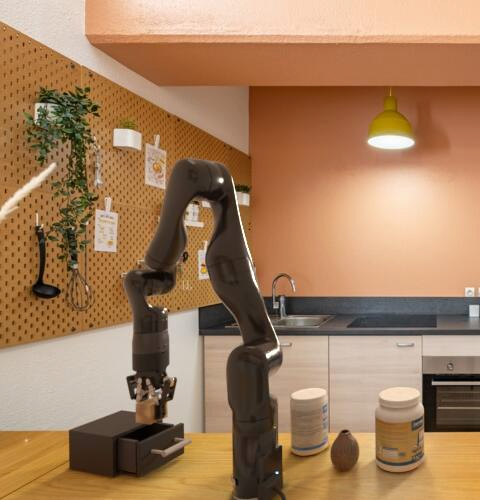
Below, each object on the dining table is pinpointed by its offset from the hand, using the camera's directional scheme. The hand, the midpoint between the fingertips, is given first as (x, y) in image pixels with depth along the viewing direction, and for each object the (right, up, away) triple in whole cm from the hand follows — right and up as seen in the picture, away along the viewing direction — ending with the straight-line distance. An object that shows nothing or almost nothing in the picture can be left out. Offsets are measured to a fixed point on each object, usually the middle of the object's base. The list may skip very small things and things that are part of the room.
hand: (151, 417), depth 100 cm
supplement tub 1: (+36, -12, +8) cm, 39 cm away
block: (0, -1, 0) cm, 1 cm away
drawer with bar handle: (0, -11, 0) cm, 11 cm away
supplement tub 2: (+61, -12, +1) cm, 62 cm away
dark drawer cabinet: (-11, -12, +3) cm, 17 cm away
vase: (+48, -12, -1) cm, 49 cm away
